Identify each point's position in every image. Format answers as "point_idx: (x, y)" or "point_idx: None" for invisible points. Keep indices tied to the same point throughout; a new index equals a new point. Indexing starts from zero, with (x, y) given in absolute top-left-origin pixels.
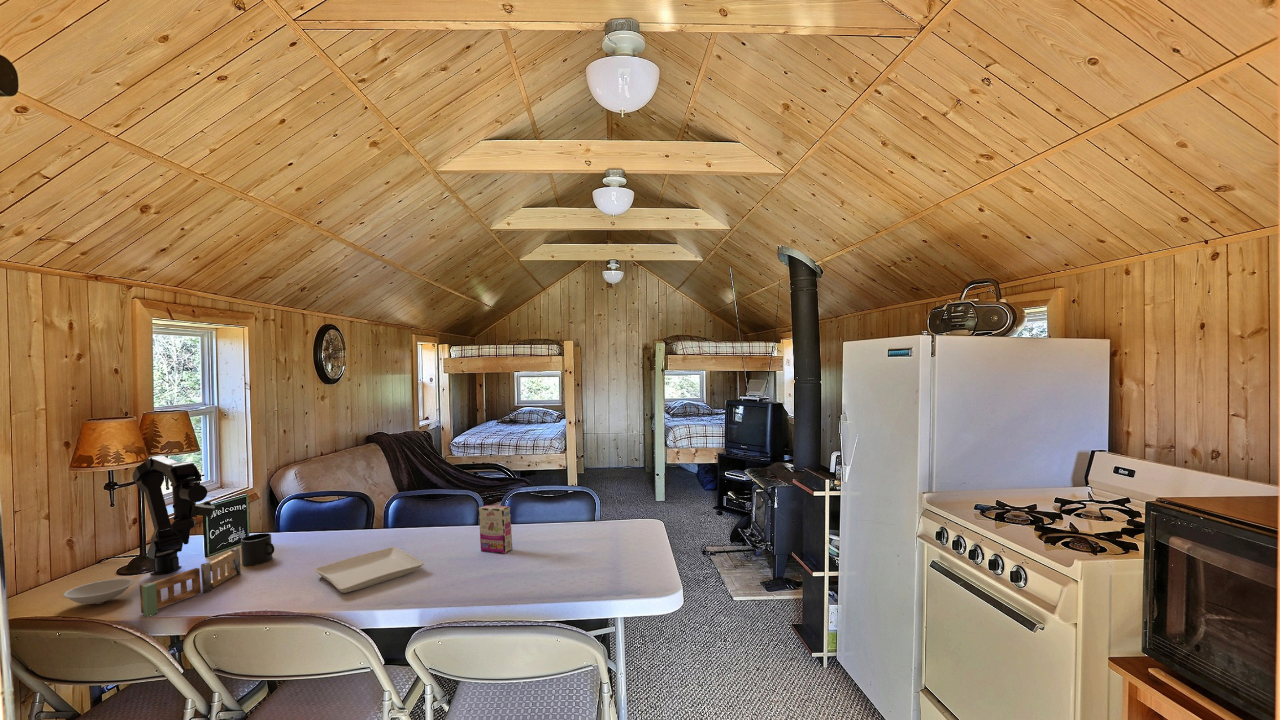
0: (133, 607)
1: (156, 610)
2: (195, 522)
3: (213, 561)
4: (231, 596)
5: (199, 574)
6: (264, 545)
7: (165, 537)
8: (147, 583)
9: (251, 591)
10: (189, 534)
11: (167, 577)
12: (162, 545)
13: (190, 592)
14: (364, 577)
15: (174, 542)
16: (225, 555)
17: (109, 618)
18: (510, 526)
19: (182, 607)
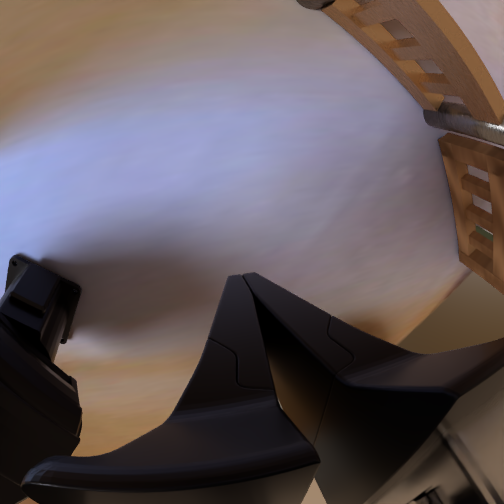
0: (399, 293)
1: (483, 230)
2: (308, 453)
3: (492, 94)
4: (492, 72)
5: (500, 149)
6: None
7: (39, 439)
8: None
9: (488, 29)
10: (339, 319)
11: None
12: (70, 411)
13: (464, 164)
14: None
15: (16, 368)
16: (447, 23)
17: (422, 316)
18: None
19: (484, 177)
